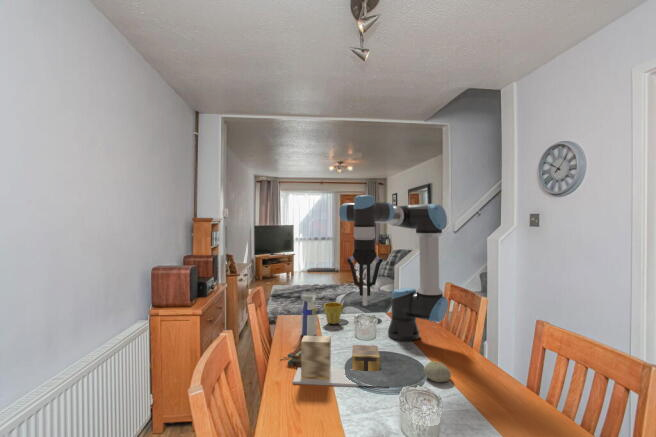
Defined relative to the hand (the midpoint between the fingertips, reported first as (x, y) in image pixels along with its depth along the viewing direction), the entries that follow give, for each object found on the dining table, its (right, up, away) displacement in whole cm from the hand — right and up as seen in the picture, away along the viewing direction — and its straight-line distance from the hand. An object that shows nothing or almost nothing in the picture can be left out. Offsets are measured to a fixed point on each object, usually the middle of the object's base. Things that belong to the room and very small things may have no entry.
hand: (364, 304), depth 119 cm
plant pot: (-10, -27, +67) cm, 73 cm away
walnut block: (+1, -23, +3) cm, 23 cm away
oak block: (-18, -26, +1) cm, 31 cm away
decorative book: (-24, -27, +14) cm, 39 cm away
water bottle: (-23, -27, +48) cm, 59 cm away
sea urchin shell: (+27, -27, +4) cm, 38 cm away
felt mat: (-9, -27, +1) cm, 28 cm away
